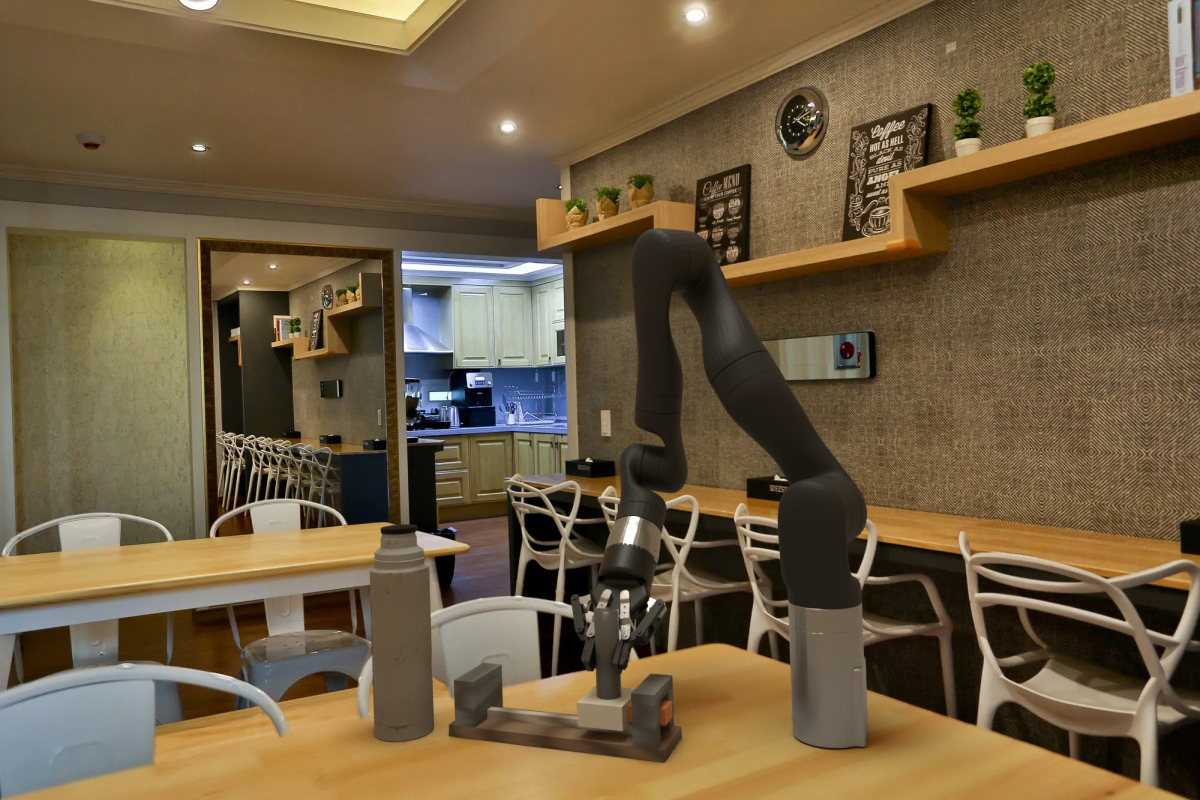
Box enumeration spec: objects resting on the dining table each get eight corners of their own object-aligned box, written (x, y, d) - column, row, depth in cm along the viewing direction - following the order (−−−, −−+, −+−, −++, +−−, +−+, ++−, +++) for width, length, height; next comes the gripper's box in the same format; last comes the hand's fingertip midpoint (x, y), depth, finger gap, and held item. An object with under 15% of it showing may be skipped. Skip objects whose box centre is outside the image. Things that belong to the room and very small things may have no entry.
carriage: (640, 711, 111) (636, 605, 112) (622, 731, 105) (618, 618, 105) (597, 707, 114) (594, 602, 114) (577, 726, 107) (574, 615, 107)
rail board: (681, 737, 110) (679, 675, 110) (664, 762, 102) (662, 696, 102) (478, 715, 121) (476, 658, 121) (448, 735, 113) (447, 675, 113)
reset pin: (672, 717, 108) (672, 701, 108) (665, 725, 105) (665, 709, 105) (635, 713, 110) (634, 697, 110) (627, 721, 107) (627, 705, 107)
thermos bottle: (363, 740, 113) (357, 529, 113) (390, 718, 120) (384, 521, 121) (419, 743, 111) (413, 529, 111) (443, 721, 119) (437, 521, 119)
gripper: (576, 539, 119) (542, 650, 107) (673, 542, 114) (648, 659, 102) (591, 570, 124) (560, 679, 112) (684, 574, 119) (662, 689, 107)
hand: (602, 669), depth 107 cm, fingers closed on carriage, 3 cm apart
